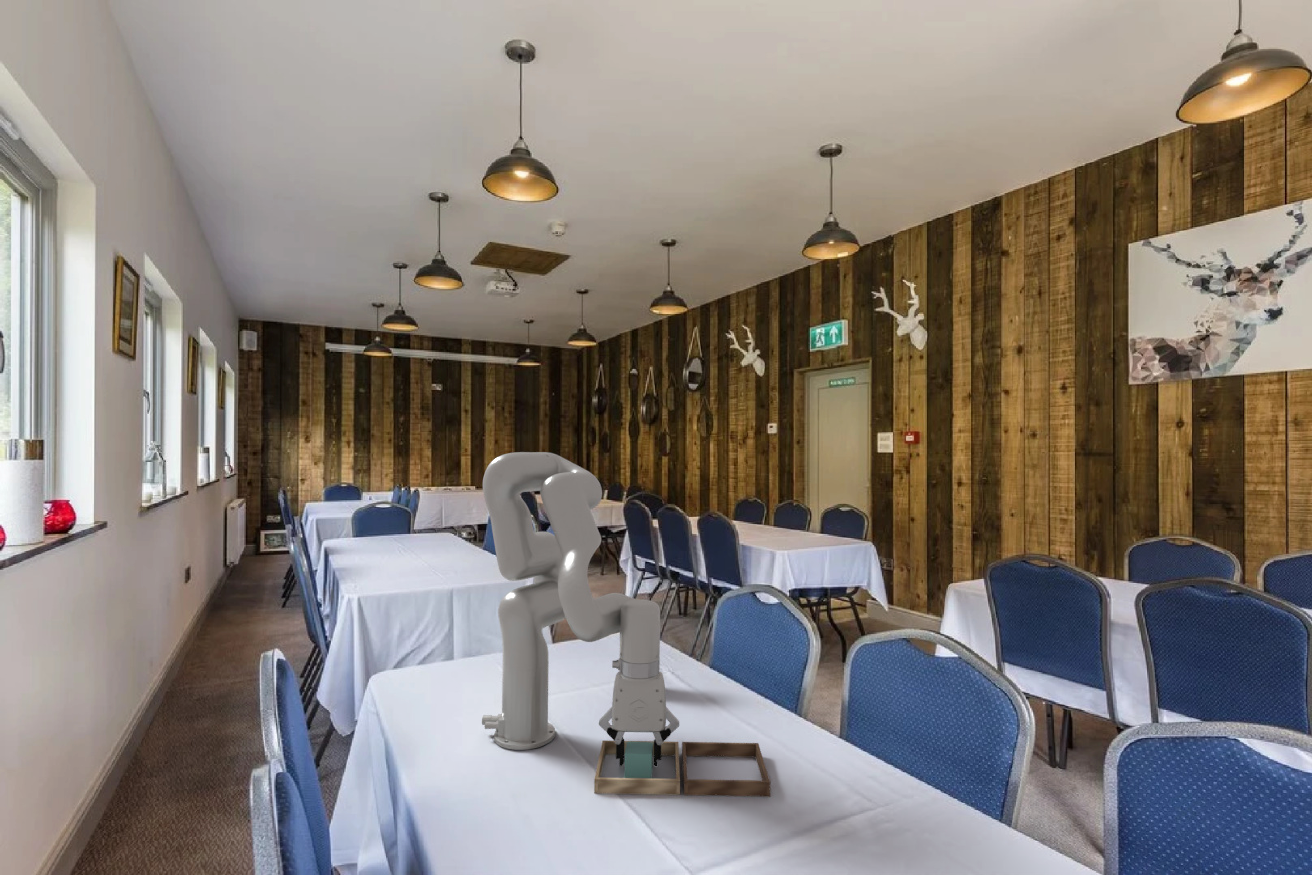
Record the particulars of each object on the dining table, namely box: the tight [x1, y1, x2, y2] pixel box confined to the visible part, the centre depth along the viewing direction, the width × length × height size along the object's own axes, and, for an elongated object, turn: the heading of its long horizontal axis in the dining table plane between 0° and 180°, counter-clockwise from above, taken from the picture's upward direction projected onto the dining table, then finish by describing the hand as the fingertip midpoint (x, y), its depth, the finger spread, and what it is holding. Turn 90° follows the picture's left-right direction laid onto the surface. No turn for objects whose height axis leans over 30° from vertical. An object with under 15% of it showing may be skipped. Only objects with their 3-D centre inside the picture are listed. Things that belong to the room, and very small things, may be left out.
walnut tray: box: [681, 741, 771, 797], centre depth 124 cm, size 15×15×2 cm
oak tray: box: [593, 739, 681, 796], centre depth 125 cm, size 15×15×2 cm
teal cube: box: [623, 740, 654, 778], centre depth 125 cm, size 5×5×5 cm
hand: (638, 761), depth 125 cm, fingers open, 5 cm apart
